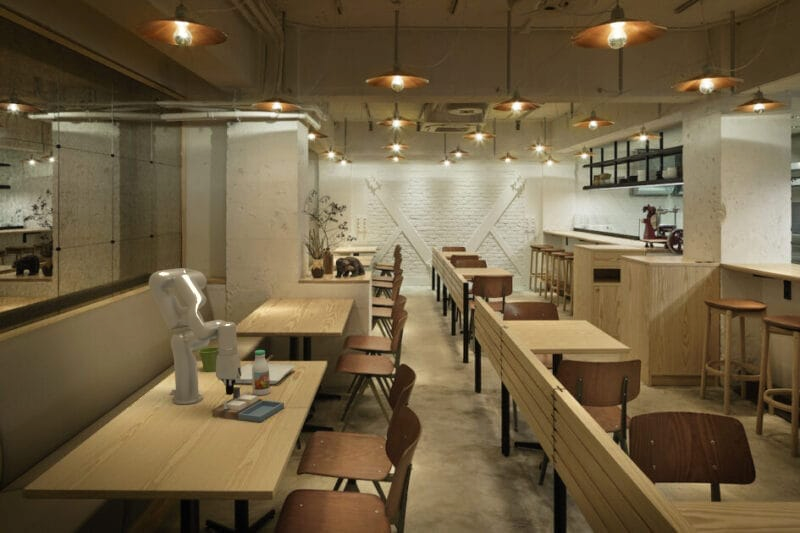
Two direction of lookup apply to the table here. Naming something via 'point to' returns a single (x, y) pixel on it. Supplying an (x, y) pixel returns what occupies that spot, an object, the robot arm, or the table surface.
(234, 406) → the white tile
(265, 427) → the table surface
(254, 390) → the milk bottle
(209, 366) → the plant pot
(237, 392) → the bar
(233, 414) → the walnut board
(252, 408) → the box
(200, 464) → the table surface
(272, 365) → the square plate
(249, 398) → the white tile
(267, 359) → the kitchen cleaver
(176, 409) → the table surface
